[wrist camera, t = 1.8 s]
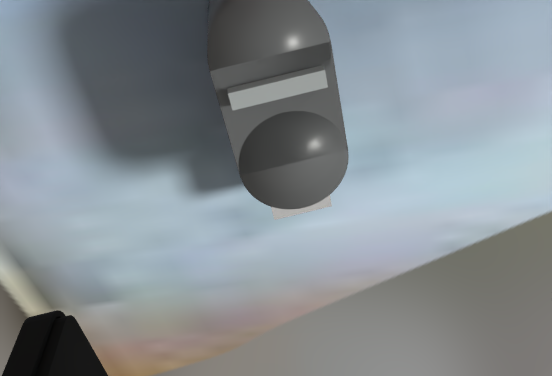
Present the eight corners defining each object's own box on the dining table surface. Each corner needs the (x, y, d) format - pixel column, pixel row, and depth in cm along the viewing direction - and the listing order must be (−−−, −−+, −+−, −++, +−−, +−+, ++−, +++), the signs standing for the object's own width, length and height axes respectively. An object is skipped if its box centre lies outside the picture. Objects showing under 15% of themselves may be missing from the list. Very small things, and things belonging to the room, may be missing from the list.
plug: (196, -24, 21) (191, 12, 15) (293, -48, 21) (323, -21, 15) (253, 185, 26) (265, 267, 21) (331, 166, 26) (364, 243, 21)
